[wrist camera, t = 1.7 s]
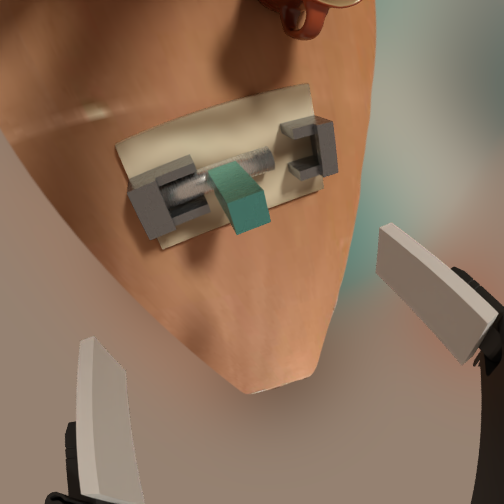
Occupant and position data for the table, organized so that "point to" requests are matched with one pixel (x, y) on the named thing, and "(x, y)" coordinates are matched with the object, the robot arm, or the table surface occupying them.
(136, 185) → the bracket
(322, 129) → the socket
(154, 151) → the board
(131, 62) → the table surface
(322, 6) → the mug
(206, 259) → the table surface
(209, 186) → the teal and grey t-piece
